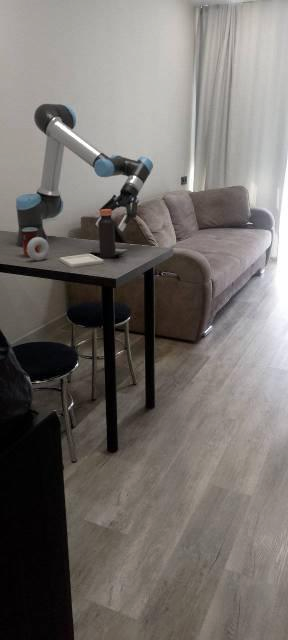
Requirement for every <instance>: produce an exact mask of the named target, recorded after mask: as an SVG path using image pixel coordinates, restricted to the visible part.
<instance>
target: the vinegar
mask: <svg viewBox="0 0 288 640" xmlns="http://www.w3.org/2000/svg"><path fill="white" fill-rule="evenodd" d="M100 209H101V208H100ZM100 209H99V210H100ZM100 215H101V219H100V221H99V222H98V224H99V228H98V241H99V256H100V257H101V258H105V259H110V258H115V257H116V256H115V253H116V233H115V231H116V229H115V228H116V227H115V225H116V224H115V221H114V220H113V219H112V215H113V211H112V210H111V209H101V210H100V211H99V216H100ZM100 257H99V258H100Z"/></svg>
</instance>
